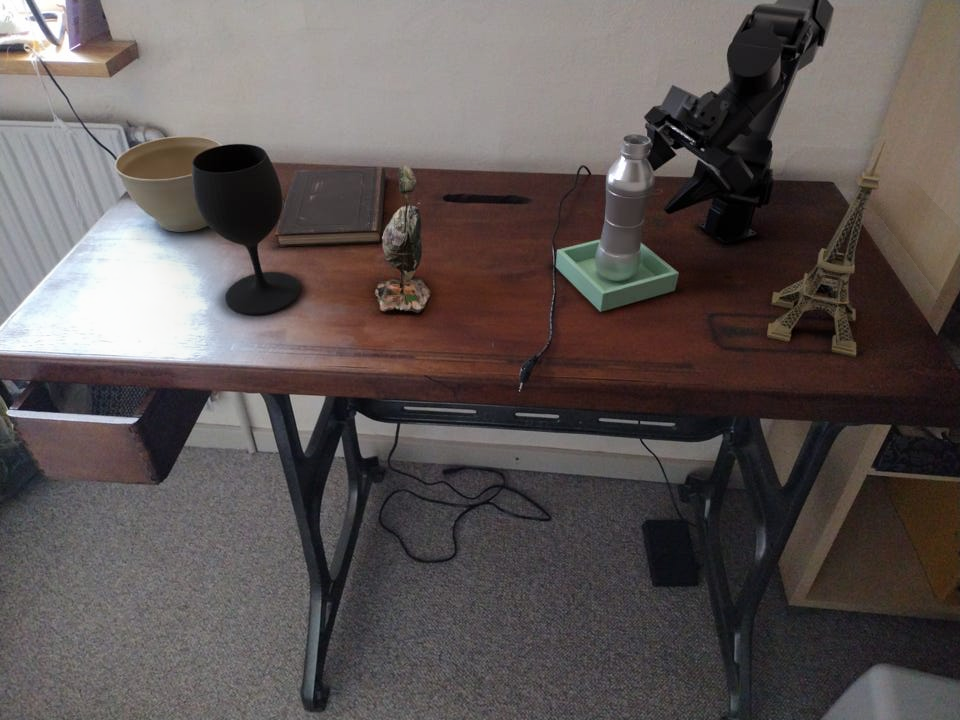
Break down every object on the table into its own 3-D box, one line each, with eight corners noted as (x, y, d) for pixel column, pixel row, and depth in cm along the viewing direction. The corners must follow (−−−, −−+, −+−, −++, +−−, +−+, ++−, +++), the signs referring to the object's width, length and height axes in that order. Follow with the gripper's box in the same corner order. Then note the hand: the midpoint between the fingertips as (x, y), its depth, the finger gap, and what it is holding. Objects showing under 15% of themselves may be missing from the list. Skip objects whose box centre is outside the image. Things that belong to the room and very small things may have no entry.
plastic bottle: (587, 280, 96) (604, 145, 83) (600, 258, 100) (618, 126, 88) (631, 291, 94) (656, 153, 81) (642, 267, 98) (667, 134, 86)
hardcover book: (277, 247, 104) (274, 234, 102) (297, 181, 121) (295, 169, 120) (381, 243, 105) (380, 230, 103) (386, 178, 122) (384, 166, 121)
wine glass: (234, 324, 89) (192, 183, 76) (218, 285, 96) (178, 150, 83) (310, 303, 92) (283, 165, 79) (290, 267, 99) (262, 135, 87)
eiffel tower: (766, 336, 87) (832, 150, 71) (773, 293, 94) (833, 116, 78) (855, 356, 84) (945, 166, 67) (854, 310, 91) (935, 129, 75)
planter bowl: (118, 241, 105) (92, 175, 98) (167, 194, 117) (147, 133, 110) (216, 247, 104) (197, 181, 97) (255, 199, 116) (240, 138, 109)
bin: (625, 249, 103) (628, 232, 101) (675, 290, 95) (679, 272, 93) (555, 267, 99) (556, 249, 98) (600, 312, 91) (603, 293, 89)
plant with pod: (441, 274, 98) (435, 141, 85) (422, 320, 89) (412, 180, 76) (387, 269, 99) (373, 137, 86) (363, 313, 90) (344, 174, 78)
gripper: (668, 41, 88) (583, 135, 92) (757, 87, 74) (653, 194, 78) (707, 96, 95) (626, 180, 99) (795, 146, 81) (697, 241, 86)
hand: (648, 196), depth 90 cm, fingers open, 9 cm apart
